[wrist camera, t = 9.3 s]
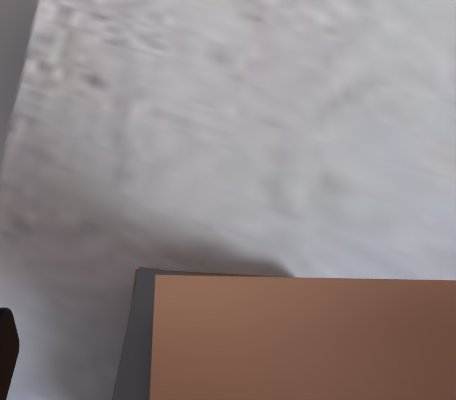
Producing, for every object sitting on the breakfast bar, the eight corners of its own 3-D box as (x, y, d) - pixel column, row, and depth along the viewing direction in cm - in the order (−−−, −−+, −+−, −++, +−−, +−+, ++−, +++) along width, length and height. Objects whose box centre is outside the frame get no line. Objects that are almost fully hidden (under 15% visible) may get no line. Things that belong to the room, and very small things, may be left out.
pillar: (272, 438, 16) (566, 712, 5) (147, 444, 15) (131, 780, 4) (269, 311, 17) (493, 281, 6) (153, 311, 17) (155, 274, 5)
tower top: (283, 473, 18) (295, 489, 16) (110, 449, 17) (98, 463, 15) (297, 298, 20) (309, 292, 18) (145, 276, 20) (139, 266, 18)
